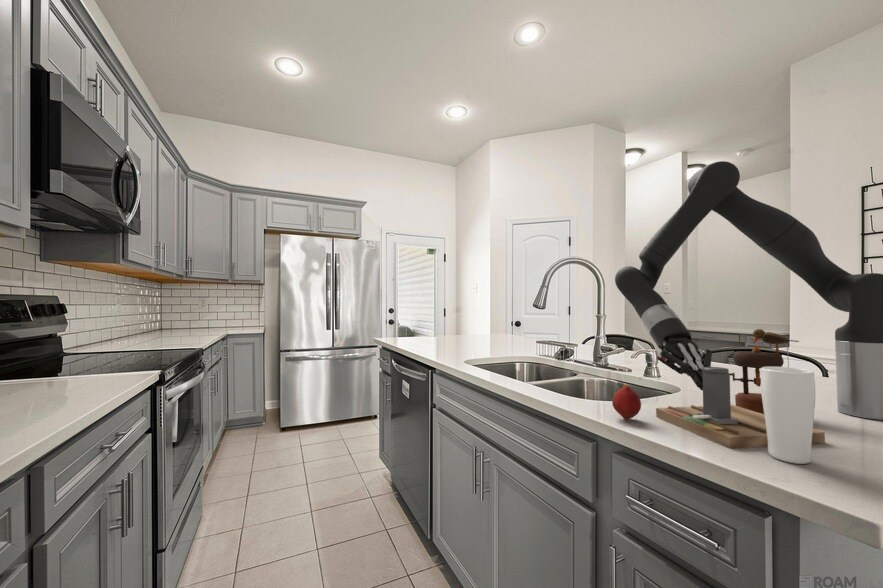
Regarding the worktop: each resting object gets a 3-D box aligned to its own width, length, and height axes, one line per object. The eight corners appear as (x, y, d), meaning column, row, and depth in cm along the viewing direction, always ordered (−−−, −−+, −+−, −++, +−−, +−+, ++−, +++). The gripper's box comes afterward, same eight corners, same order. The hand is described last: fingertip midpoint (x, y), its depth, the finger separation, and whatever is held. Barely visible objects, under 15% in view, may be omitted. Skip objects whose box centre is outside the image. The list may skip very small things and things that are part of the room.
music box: (794, 411, 90) (791, 329, 90) (810, 423, 80) (807, 332, 81) (716, 403, 97) (714, 327, 98) (723, 413, 88) (720, 329, 89)
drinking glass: (760, 458, 62) (758, 369, 63) (764, 447, 67) (762, 364, 67) (817, 471, 57) (814, 374, 58) (817, 458, 62) (814, 369, 63)
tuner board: (733, 413, 88) (732, 402, 88) (825, 443, 69) (824, 429, 69) (656, 416, 85) (655, 405, 86) (729, 448, 67) (729, 433, 67)
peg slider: (716, 416, 78) (714, 366, 79) (737, 423, 73) (736, 370, 74) (684, 417, 77) (683, 366, 78) (704, 425, 73) (702, 371, 73)
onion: (628, 414, 87) (627, 380, 87) (647, 422, 81) (646, 386, 82) (607, 416, 86) (606, 382, 86) (625, 424, 80) (624, 387, 80)
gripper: (646, 316, 87) (688, 379, 75) (697, 316, 89) (746, 377, 76) (633, 337, 92) (670, 398, 80) (681, 336, 94) (724, 396, 81)
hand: (707, 388), depth 78 cm, fingers closed
